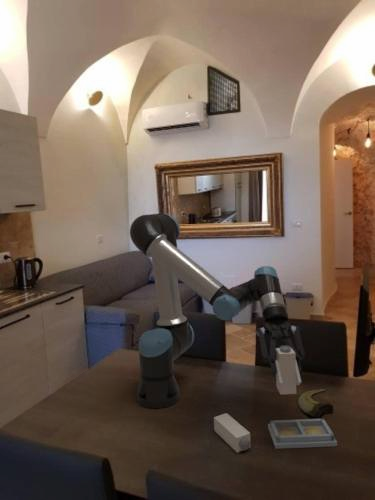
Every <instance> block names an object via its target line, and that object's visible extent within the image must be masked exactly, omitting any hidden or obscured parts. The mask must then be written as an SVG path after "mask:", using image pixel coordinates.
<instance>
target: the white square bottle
mask: <svg viewBox="0 0 375 500" xmlns="http://www.w3.org/2000/svg"><path fill="white" fill-rule="evenodd" d="M277 360H278V363H279V368H280V372H281V377H282V382H283V383H282V385H281V386H279V387H278V382H277V377H276V376H275V377H276V380H275V381H276V384H275V385H276V388H277V391H278V392H279V394H280V395H295V394H296V395H297V384H296V353H295V352H294V351H293V349H292V348H291V347H290V346H286V344H285V345H281V346H279V347H277V348H276V347H275V361H277Z"/></svg>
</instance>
